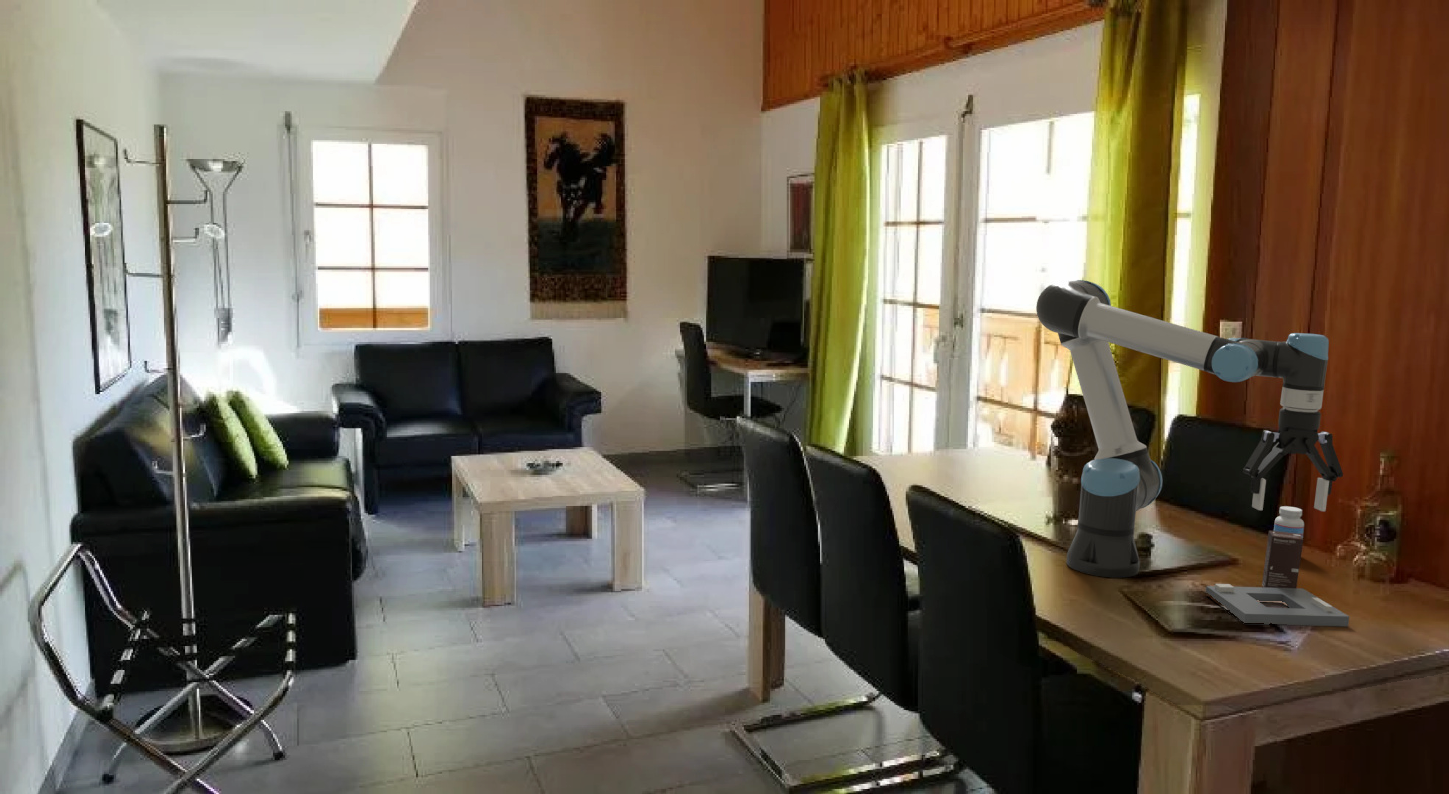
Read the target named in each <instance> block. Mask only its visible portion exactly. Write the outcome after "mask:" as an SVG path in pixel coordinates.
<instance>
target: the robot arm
mask: <svg viewBox="0 0 1449 794" xmlns="http://www.w3.org/2000/svg"><path fill="white" fill-rule="evenodd" d="M1035 307H1036V308H1035V309H1036V310H1035V311H1036V314H1037V318H1038V320H1039V321H1040V323H1041V325H1042V326H1043V327H1044V328H1046V329H1048V330H1049V331H1050V332H1053V333H1057V336H1058V340H1059V341H1060V342H1059V343H1060V346H1062V347H1064V348H1066V349H1068V350H1069V352H1070V354H1071V357H1072V361H1073V366H1074V369H1075V372H1076V376H1077V380H1078V382H1079V383H1078V384H1079V386H1080V389H1081V392H1082V397H1083V401H1084V402H1085V406H1086V410H1087V414H1088V417H1089V420H1090V424H1091V427H1092V430H1093V435H1094V438H1095V441H1096V444H1097V448H1098V451H1097V453H1096V455H1095V457H1094V459H1093V460H1090V461H1089V462H1087V463H1086V464H1084V466H1083V469H1082V474H1081V478H1080V495H1079V509H1078V519H1077V520H1078V522H1077V530H1076V533H1075V535H1074V536H1073V540H1072V541H1071V542H1070V543H1071V544H1070V545H1069V548H1068V550H1067V554H1066V562H1065V563H1066V565H1067V566H1068V567H1070V568H1071V569H1073V570H1075V571H1077V572H1081V573H1083V574H1087V575H1091V576H1097V577H1103V578H1115V579H1116V578H1117V579H1118V578H1121V579H1122V578H1130V577H1134V576H1137V575H1138V574H1139V573H1138V571H1139V572H1140V564H1141V563H1140V558H1139V553H1138V550H1137V549H1138V548H1137V546H1136V542H1135V538H1134V537H1135V536H1134V535H1135V525H1136V513H1137V512H1138V511H1139V510H1141V509H1144V508H1146V507H1148V506H1149V505H1151V504H1152V503H1153V502H1154V501H1155V500H1156V499H1157V497H1158V496H1159V494H1160V493H1161V490H1162V488H1163V475H1162V471H1161V470H1160V468H1159V466H1158V464H1157V463H1156V462H1155V461H1154V460H1152V459H1151V457H1150V453H1149V450H1148V448H1147V445H1146V444H1144V443H1142V442H1140V441H1139V439H1138V437H1137V435H1136V431H1135V428H1134V425H1133V422H1132V417H1131V414H1130V411H1129V407H1128V404H1127V401H1126V397H1125V394H1124V391H1123V387H1122V384H1121V381H1120V376H1119V374H1118V371H1117V366H1116V363H1115V361H1114V357H1113V354H1112V350H1111V347H1110V344H1113V345H1117V346H1121V347H1124V348H1127V349H1131V350H1134V351H1137V352H1140V353H1143V354H1148V355H1150V356H1154V357H1157V358H1160V359H1164V360H1167V361H1170V362H1174V363H1177V364H1181V365H1184V366H1187V367H1190V368H1193V369H1196V370H1200V371H1204V372H1207V373H1209V374H1213V375H1216V377H1218V378H1219V379H1221V380H1222V381H1225V382H1230V383H1240V382H1243V381H1246V380H1248V379H1250V378H1252V377H1256V376H1257V377H1269V378H1270V377H1271V378H1274V379H1275V378H1276V379H1277V378H1280V379H1282V381H1283V382H1282V389H1281V396H1280V402H1279V404H1280V406H1282V408H1280V409H1279V411H1278V412H1279V415H1278V423H1277V424H1278V429H1277V432H1273V431H1269V430H1267V429H1265V430H1263V431H1262V432H1261V437H1260V441H1259V442H1258V444H1257V446H1256V448H1255V449H1254V451H1253V452H1252V454H1251V456H1250V457H1249V459H1248V461H1246V464H1245V466H1244V467H1243V469H1242V472H1243V473H1244V474H1246V475H1248V476H1250V477H1251V479H1250V487H1249V488H1250V493H1252V501H1251V502H1252V504H1251V508H1254V509H1256V510H1257V511H1263V508H1264V502H1265V501H1264V500H1265V493H1266V485H1267V479H1265V478H1264V477H1265V475H1266V474H1268V472H1269V471H1270V470H1272V468H1273V467H1275V465H1277V463H1279V461H1280V460H1281V459H1282V458H1283V457H1286V456H1287V455H1288V454H1290V455H1295V454H1300V455H1306V456H1307V457H1308V459H1310V461H1311V463H1312V464H1313V465H1314V467H1315V468H1316V471H1318V473H1319V475H1321V477H1317V479H1316V489H1315V498H1314V504H1313V505H1314V506H1313V508H1314V509H1316V510H1318V511H1320V512H1326V510H1327V503H1328V502H1327V501H1328V496H1329V495H1330V496H1331V494H1332V487H1333V482H1336V481H1337V478H1343V476H1344V473H1343V469H1342V467H1341V464H1340V461H1339V458H1338V455H1337V454H1336V453H1337V452H1336V450H1335V447H1334V445H1333V444H1334V443H1333V441H1334V439H1333V434H1332V433H1330V432H1327V431H1321V432H1319V433H1318V430H1319V429H1320V427H1321V426H1320V424H1321V417H1322V413H1321V412H1320V411H1319V410H1321V409H1322V406H1323V400H1324V399H1323V398H1324V391H1325V390H1324V389H1325V384H1326V383H1325V381H1326V375H1327V367H1328V361H1329V342H1330V341H1329V338H1328V337H1326V335H1323V334H1316V333H1302V332H1293V333H1290V334H1288V336H1287V339H1286V341H1275V340H1274V341H1273V340H1263V339H1252V338H1247V337H1239V338H1238V337H1237V338H1236V337H1229V338H1226V337H1225V338H1224V337H1220V336H1218V335H1214V334H1210V333H1207V332H1203V331H1201V330H1196V329H1194V328H1189V327H1186V326H1182V325H1180V324H1175V323H1172V322H1169V321H1165V320H1161V319H1158V318H1154V317H1151V316H1149V315H1143V314H1140V313H1138V312H1133V311H1130V310H1127V309H1122V308H1120V307H1117V306H1112V303H1111V299H1110V296H1109V295H1108V293H1107V292H1106V290H1105V289H1104V288H1103V287H1102V286H1100V285H1099V284H1097V283H1094V282H1093V281H1088V280H1084V279H1077V280H1070V281H1069V280H1068V281H1067V280H1066V281H1064V280H1063V281H1057V282H1054V283H1052V284H1049V285H1048V286H1047V287H1045V288H1044V289H1043V291H1042V292H1041V293H1040V294H1039V296H1038V299H1037V301H1036V306H1035ZM1276 441H1277V443H1276V444H1274V446H1273V447H1272V445H1273V443H1275V442H1276ZM1317 442H1319V445H1320V448H1321V450H1322V454H1323V457H1324V459H1325V461H1324V459H1323V458H1322V456H1321V455H1320V452H1319V449H1317V448H1316V446H1315V445H1316V444H1317ZM1271 448H1272V450H1271ZM1270 450H1271V451H1270ZM1269 451H1270V452H1269Z"/></svg>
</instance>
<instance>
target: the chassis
mask: <svg viewBox="0 0 1449 794" xmlns="http://www.w3.org/2000/svg"><path fill="white" fill-rule="evenodd" d="M1205 593H1208V594H1209V595H1211V596H1212V597H1213V598H1214V599H1216V600H1217V601H1218V602H1220V603H1221V604H1222V605H1224V606H1225V607H1226V608H1227V609H1228V610H1230V612H1231V613H1233V614H1234V615H1235V616H1237V617H1238V618H1239V619H1240V620H1241V621H1243V622H1244V623H1264V624H1263V625H1269V624H1270V623H1272V624H1287V625H1286V626H1310V627H1311V626H1314V627H1315V626H1317V627H1349V623H1350V622H1349V621H1350V615H1348V614H1346V613H1344V612H1343V611H1341V610H1339V609H1338V608H1336V607H1334V606H1332V605H1331V604H1330V603H1328V602H1326V601H1324V600H1322V599H1321V598H1319V596H1316V595H1315V594H1313V593H1312V592H1309V591H1308V590H1306V589H1304V588H1298V587H1297V588H1266V587H1263V586H1261V587H1259V586H1233V585H1231V583H1214V585H1205ZM1257 600H1259V601H1282V602H1285V603H1286V604H1287V605H1288V607H1289V608H1288V607H1286V608H1285V607H1268V606H1266V605H1264V603H1260V602H1258V601H1257ZM1240 620H1239V621H1240ZM1241 621H1240V622H1241ZM1244 623H1243V624H1244Z"/></svg>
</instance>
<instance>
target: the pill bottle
mask: <svg viewBox="0 0 1449 794" xmlns="http://www.w3.org/2000/svg"><path fill="white" fill-rule="evenodd" d="M1278 512H1279V513H1278V514H1279V516H1277V517H1276V518H1275V520H1274V525H1273V526H1274V527H1273V531H1278V532H1288V533H1296V534H1300V535H1301V537H1302V538H1304V530H1305V522H1304V520H1303V519H1302V518H1301V517H1302V516H1303V509H1301V508H1299V507H1295V506H1287V505H1284V506H1280V507H1279V511H1278Z"/></svg>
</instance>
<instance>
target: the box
mask: <svg viewBox="0 0 1449 794" xmlns="http://www.w3.org/2000/svg"><path fill="white" fill-rule="evenodd" d="M1303 538H1304V537H1303ZM1303 538H1302V537H1301V535H1300V534H1296V533H1288V532H1278V531H1274V530H1268V535H1267V542H1266V551H1265V559H1264V568H1263V573H1262V582H1261V585H1262V587H1266V588H1298V587H1297V586H1298V581H1299V580H1298V579H1299V574H1300V566H1301V560H1302V552H1303V544H1304V539H1303Z"/></svg>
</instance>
